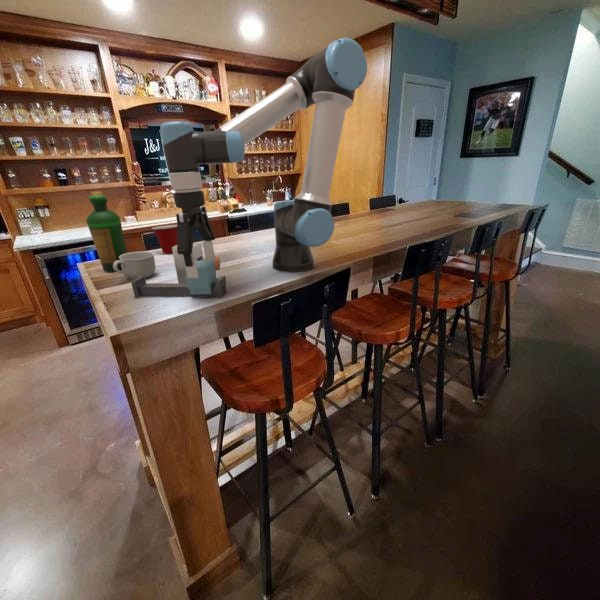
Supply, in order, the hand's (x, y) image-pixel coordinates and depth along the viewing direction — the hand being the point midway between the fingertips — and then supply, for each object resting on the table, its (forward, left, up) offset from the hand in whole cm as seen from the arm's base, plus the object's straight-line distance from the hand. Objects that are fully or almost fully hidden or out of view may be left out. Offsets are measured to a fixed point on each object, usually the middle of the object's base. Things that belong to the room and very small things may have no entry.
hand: (202, 269), depth 90 cm
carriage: (+1, 0, -6) cm, 6 cm away
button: (+3, -12, -4) cm, 13 cm away
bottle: (+44, -25, -8) cm, 52 cm away
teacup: (+30, -15, -8) cm, 35 cm away
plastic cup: (+35, -50, -8) cm, 62 cm away
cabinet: (+8, -12, -8) cm, 16 cm away
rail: (+7, 0, -8) cm, 11 cm away
